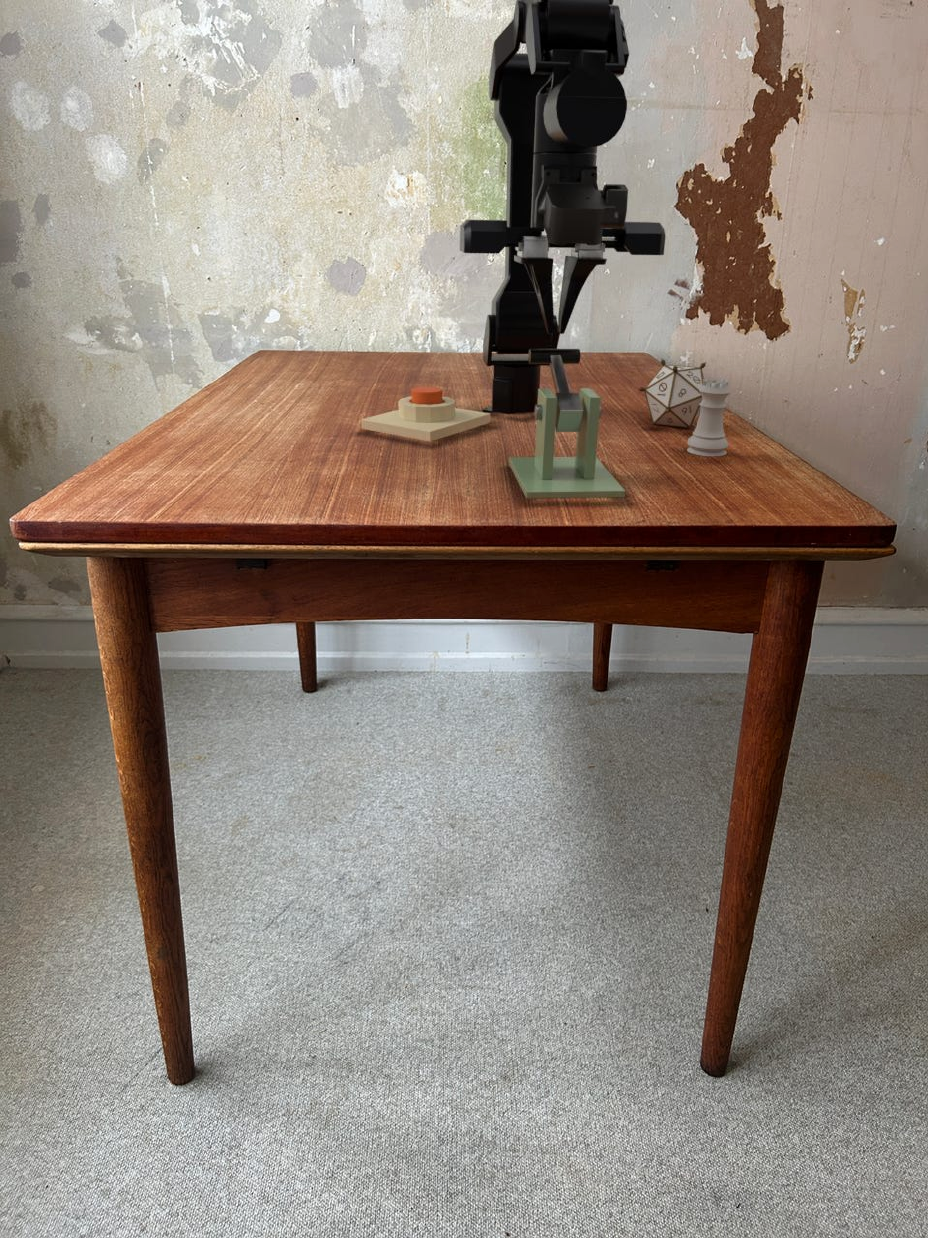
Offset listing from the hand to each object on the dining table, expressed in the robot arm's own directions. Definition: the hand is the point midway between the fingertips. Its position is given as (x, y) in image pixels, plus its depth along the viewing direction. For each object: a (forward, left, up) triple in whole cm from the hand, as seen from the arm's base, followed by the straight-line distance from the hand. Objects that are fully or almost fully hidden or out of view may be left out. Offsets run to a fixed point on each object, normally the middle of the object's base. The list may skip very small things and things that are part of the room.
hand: (555, 333), depth 87 cm
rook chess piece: (-13, +12, -13) cm, 22 cm away
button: (-4, -19, -10) cm, 22 cm away
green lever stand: (+6, +5, -13) cm, 15 cm away
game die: (-23, +4, -13) cm, 27 cm away
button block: (-4, -19, -13) cm, 23 cm away
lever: (+3, +2, -5) cm, 7 cm away
